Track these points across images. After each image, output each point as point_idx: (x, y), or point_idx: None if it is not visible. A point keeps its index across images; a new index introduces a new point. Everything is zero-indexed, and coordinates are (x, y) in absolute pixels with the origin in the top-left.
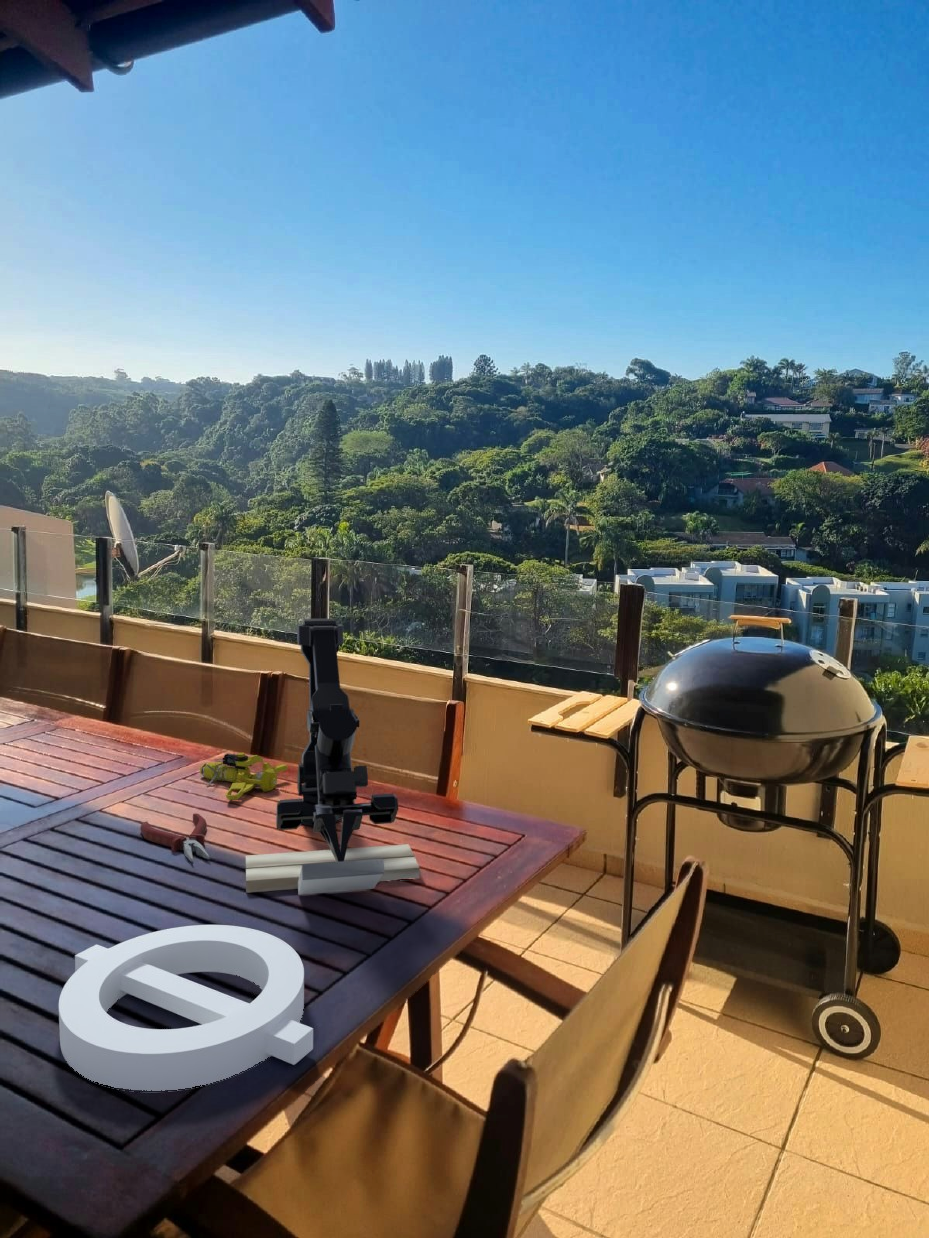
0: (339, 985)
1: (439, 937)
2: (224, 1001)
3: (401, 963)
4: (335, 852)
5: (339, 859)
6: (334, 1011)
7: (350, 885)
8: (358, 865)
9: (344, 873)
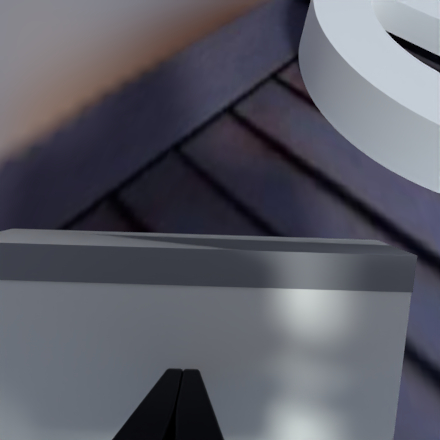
0: (243, 85)
1: (9, 178)
2: (422, 3)
3: (126, 115)
4: (212, 410)
5: (191, 377)
6: (256, 42)
7: None
8: (113, 241)
9: (191, 236)
